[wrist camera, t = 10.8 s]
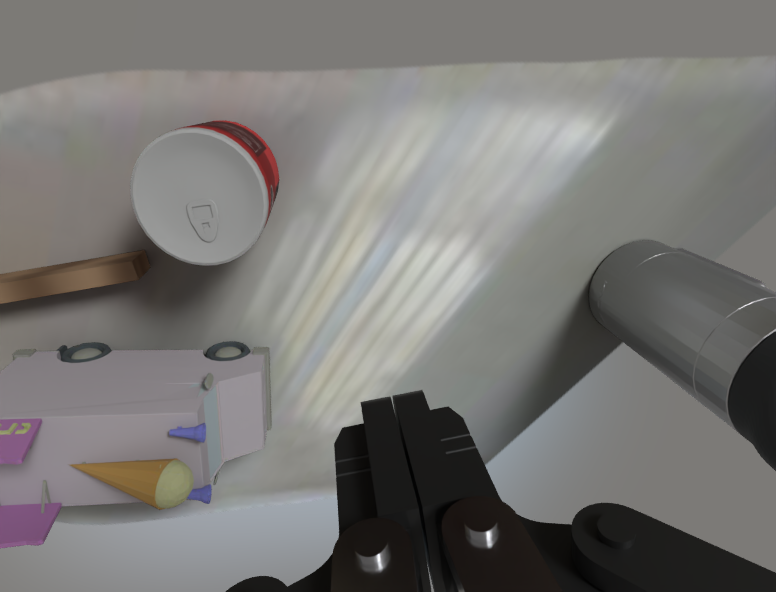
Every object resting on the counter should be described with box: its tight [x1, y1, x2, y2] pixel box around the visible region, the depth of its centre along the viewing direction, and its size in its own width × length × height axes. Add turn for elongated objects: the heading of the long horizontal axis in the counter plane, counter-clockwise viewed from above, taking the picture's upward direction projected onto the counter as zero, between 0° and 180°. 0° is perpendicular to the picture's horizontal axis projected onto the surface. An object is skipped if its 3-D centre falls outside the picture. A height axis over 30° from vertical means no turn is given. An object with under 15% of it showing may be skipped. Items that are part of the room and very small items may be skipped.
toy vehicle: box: [0, 342, 272, 548], centre depth 37 cm, size 9×20×15 cm, turn 87°
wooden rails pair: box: [0, 250, 150, 304], centre depth 40 cm, size 14×18×6 cm
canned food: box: [130, 121, 279, 266], centre depth 34 cm, size 8×8×11 cm
